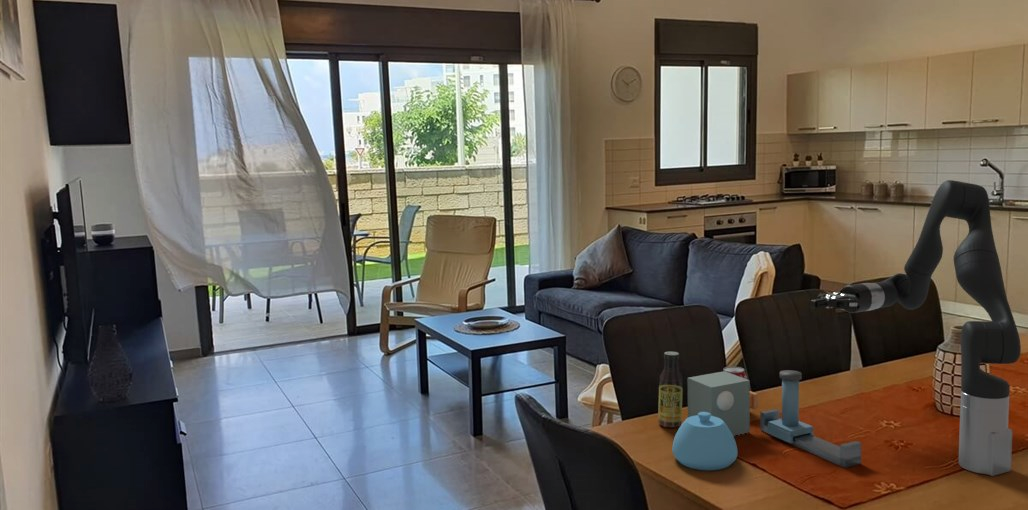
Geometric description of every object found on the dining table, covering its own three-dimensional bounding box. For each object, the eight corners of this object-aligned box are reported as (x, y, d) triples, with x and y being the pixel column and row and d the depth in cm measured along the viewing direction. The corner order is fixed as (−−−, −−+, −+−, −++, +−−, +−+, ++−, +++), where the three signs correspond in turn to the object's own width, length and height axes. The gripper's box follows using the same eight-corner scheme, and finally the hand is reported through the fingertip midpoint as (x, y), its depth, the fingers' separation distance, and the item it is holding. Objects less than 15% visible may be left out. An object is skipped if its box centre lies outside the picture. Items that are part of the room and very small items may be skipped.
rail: (860, 463, 179) (861, 442, 179) (844, 467, 177) (845, 446, 177) (775, 427, 205) (775, 408, 204) (760, 430, 203) (760, 412, 202)
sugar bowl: (660, 454, 190) (660, 408, 188) (713, 444, 195) (713, 400, 193) (695, 477, 176) (694, 427, 174) (750, 466, 181) (750, 418, 179)
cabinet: (751, 433, 201) (751, 380, 199) (713, 441, 196) (712, 388, 195) (724, 421, 211) (724, 371, 209) (688, 429, 206) (687, 377, 204)
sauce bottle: (657, 428, 208) (656, 355, 205) (659, 420, 214) (657, 349, 211) (682, 429, 206) (681, 356, 204) (683, 421, 212) (682, 350, 210)
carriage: (813, 437, 194) (813, 374, 192) (790, 443, 191) (790, 379, 189) (790, 428, 202) (790, 367, 200) (767, 433, 199) (767, 371, 197)
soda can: (744, 406, 223) (744, 365, 221) (749, 414, 216) (749, 372, 214) (719, 406, 223) (719, 365, 222) (723, 414, 216) (723, 372, 215)
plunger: (757, 408, 202) (757, 393, 201) (732, 414, 199) (732, 398, 198) (747, 404, 206) (747, 389, 205) (722, 409, 202) (722, 394, 202)
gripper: (842, 280, 216) (794, 286, 209) (882, 287, 204) (832, 294, 197) (842, 307, 217) (794, 314, 210) (881, 315, 204) (832, 323, 198)
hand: (812, 304), depth 203 cm, fingers closed
